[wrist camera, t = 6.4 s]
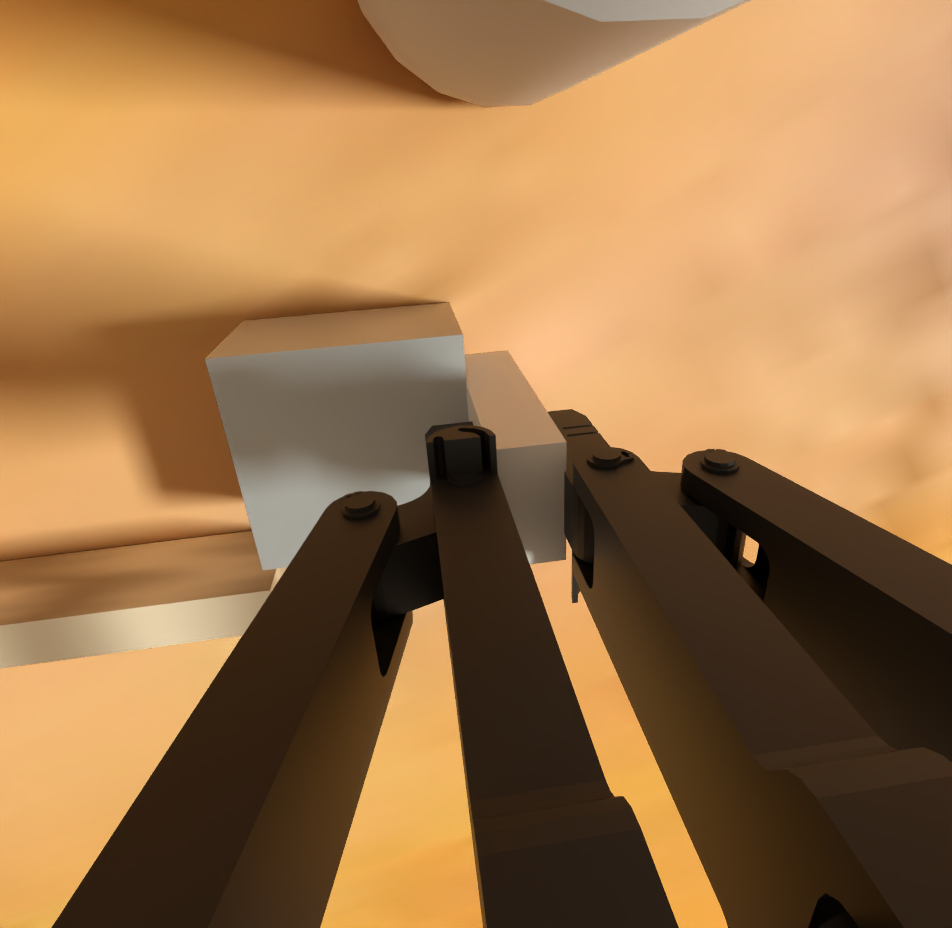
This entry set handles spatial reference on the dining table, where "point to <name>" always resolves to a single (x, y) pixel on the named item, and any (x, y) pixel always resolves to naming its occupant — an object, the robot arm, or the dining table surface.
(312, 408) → the pale grey square block
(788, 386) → the dining table surface
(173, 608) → the tray
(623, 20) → the can
